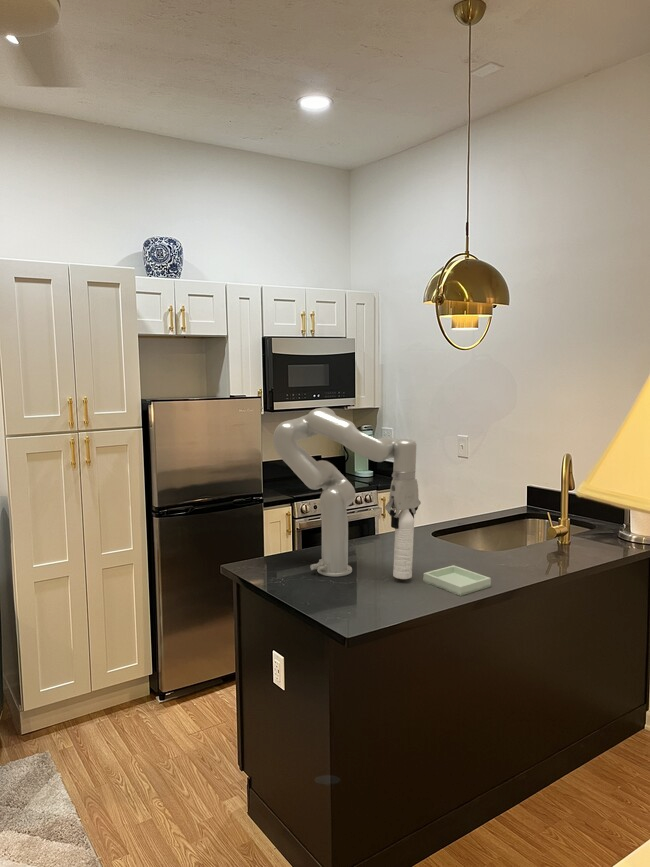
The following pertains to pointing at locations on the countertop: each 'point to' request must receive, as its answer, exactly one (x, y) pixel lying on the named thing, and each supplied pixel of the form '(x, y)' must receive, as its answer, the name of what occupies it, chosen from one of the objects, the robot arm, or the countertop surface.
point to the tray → (457, 580)
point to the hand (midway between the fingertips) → (402, 526)
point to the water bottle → (404, 546)
